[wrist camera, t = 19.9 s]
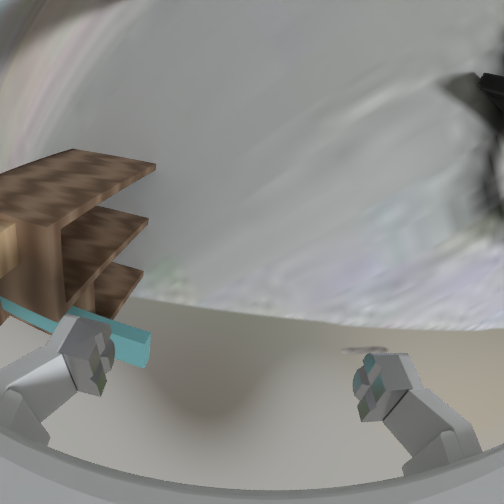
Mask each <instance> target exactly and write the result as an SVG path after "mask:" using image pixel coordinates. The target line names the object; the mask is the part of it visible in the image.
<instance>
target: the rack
mask: <svg viewBox="0 0 504 504" xmlns="http://www.w3.org/2000/svg"><path fill="white" fill-rule="evenodd" d="M155 168H156V164H154V163H149V162H144V161H139V160H134V159H128V158H123V157H118V156H112V155H106V154H100V153H95V152H89V151H82V150H76V149H70V150H67V151H63V152H60V153H57V154H54V155H51V156H48V157H45V158H42V159H39V160H36V161H33V162H30V163H27V164H25V165H22V166H19V167H17V168H14V169H11V170H9V171H6V172H4V173H1V174H0V296H1V297H3V298H5V299H7V300H9V301H11V302H13V303H15V304H17V305H19V306H21V307H23V308H26V309H28V310H30V311H32V312H34V313H36V314H38V315H41V316H43V317H45V318H47V319H50V320H52V321H54V322H57V323H58V322H59V321H60V320H61V318H62V317H63V316H64V315H65V314H66V312H67V311H68V310H69V309H70V308H71V306H75V307H77V308H80V309H83V310H85V311H88V312H91V313H94V314H96V315H99V316H102V317H105V318H108V319H111V320H113V319H114V318H115V316H116V315H117V313H118V312H119V310H120V309H121V307H122V306H123V304H124V303H125V301H126V300H127V299H128V297H129V296H130V294H131V293H132V291H133V290H134V288H135V287H136V286H137V284H138V283H139V281H140V280H141V278H142V277H143V273H144V271H141V270H138V269H134V268H131V267H127V266H124V265H120V264H117V263H114V262H112V261H113V260H114V259H115V257H116V256H117V255H118V254H119V253H120V252H121V251H122V250H123V249H124V248H125V247H126V246H127V245H128V244H129V243H130V242H131V241H132V240H133V239H134V238H135V237H136V236H137V235H138V234H139V233H140V232H141V231H142V230H143V229H144V228H145V227H146V226H147V225H148V220H149V218H145V217H141V216H137V215H133V214H129V213H124V212H120V211H116V210H112V209H108V208H104V207H100V206H96V205H98V204H99V203H101V202H103V201H104V200H106V199H107V198H109V197H111V196H112V195H114V194H115V193H117V192H119V191H120V190H122V189H124V188H125V187H127V186H129V185H130V184H132V183H134V182H135V181H137V180H139V179H141V178H142V177H144V176H146V175H148V174H149V173H151V172H153V171H155ZM10 315H11V316H13V317H14V318H17V319H18V320H20V321H23V322H25V323H27V324H28V325H30V326H33V327H35V328H37V329H39V330H41V331H43V332H45V333H47V334H50V335H52V334H53V333H50V332H48V331H46V330H44V329H42V328H40V327H37V326H35V325H33V324H31V323H29V322H27V321H25V320H23V319H21V318H19V317H17V316H15V315H13V314H11V313H9V312H7V311H5V310H4V309H3V308H2V304H1V300H0V326H1V325H2V323H3V322H4V321H5V320H6V319H7V318H8V317H9V316H10Z"/></svg>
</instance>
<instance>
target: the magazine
mask: <svg viewBox="0 0 504 504" xmlns="http://www.w3.org/2000/svg"><path fill="white" fill-rule="evenodd" d="M479 84H480V85H479V88H480V89H481V90H483V91H484V92H485V93H486V94H487V95H488V96H489V97H490V99H491V100H492V101H493V102H494V103H495V104H496V105H497V106H498V107H499V108H500V109H501V111H502V112H503V113H504V77H503V76H498V75H494V74H489V73H484V74H483V76H482V77H481V80H480V82H479Z"/></svg>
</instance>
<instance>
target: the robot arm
mask: <svg viewBox="0 0 504 504" xmlns="http://www.w3.org/2000/svg"><path fill="white" fill-rule="evenodd" d="M111 334H112V330H111V326H110V325H109V324H107V323H103V322H99V321H95V320H91V319H87V318H84V317H79V316H75V315H71V314H66V315H64V316H63V318H62V319H61V321H60V322H59V324H58V326H57V327H56V329H55V330H54V332H53V334H52V335H51V337H50V339H49V340H48V342H47V344H46V345H45V347H44V348H42V347H40V348H38V349H36V350H34V351H32V352H30V353H29V354H27V355H25V356H23V357H21V358H20V359H18V360H16V361H14V362H12V363H11V364H9V365H7V366H6V367H4V368H2V369H0V504H504V443H503V444H502V445H499V446H497V447H494V448H492V449H489V450H487V451H484V452H482V450H481V447H480V445H479V442H478V439H477V437H476V434H475V432H474V430H473V427H472V425H471V424H470V423H469V422H468V421H467V420H466V419H465V418H463V417H462V416H461V415H460V414H458V413H457V412H456V411H455V410H454V409H452V408H451V407H450V406H449V405H448V404H446V403H445V402H444V401H443V400H442V399H440V398H439V397H438V396H437V395H435V394H434V393H433V392H432V391H431V390H430V389H428V388H424V386H423V383H422V381H421V379H420V377H419V374H418V372H417V370H416V368H415V366H414V363H413V361H412V359H411V357H410V355H409V354H408V353H369V354H367V355H366V356H365V358H364V359H363V363H364V366H362V367H361V368H359V369H358V370H357V371H356V373H355V375H354V379H353V392H354V396H355V397H357V398H358V399H359V400H360V402H359V404H358V406H357V407H358V411H359V415H360V419H361V422H371V421H383V423H384V424H385V425H386V427H387V428H388V429H389V430H390V431H391V433H393V435H394V436H395V437H396V438H397V439H398V441H399V442H400V443H401V444H402V445H403V446H404V447H405V449H406V450H407V451H408V452H409V453H410V455H411V456H412V457H413V458H411V459H410V460H409V461H408V462H407V463H405V464H404V465H403V467H402V470H403V473H404V476H403V477H398V478H393V479H388V480H383V481H377V482H371V483H365V484H358V485H351V486H343V487H334V488H322V489H307V490H278V491H277V490H268V491H267V490H240V489H225V488H214V487H204V486H196V485H188V484H182V483H175V482H169V481H164V480H159V479H153V478H149V477H144V476H139V475H135V474H131V473H127V472H123V471H119V470H115V469H111V468H108V467H104V466H101V465H97V464H95V463H91V462H88V461H85V460H82V459H79V458H76V457H73V456H70V455H68V454H65V453H62V452H60V451H57V450H55V449H52V448H50V447H47V445H48V442H49V439H50V436H49V434H48V432H47V431H46V430H45V428H44V427H43V426H42V425H41V422H42V421H43V420H44V419H46V418H47V417H48V416H49V415H50V414H52V413H53V412H54V411H55V410H56V409H58V408H59V407H60V406H61V405H63V404H64V403H65V402H66V401H67V400H69V399H70V398H71V397H72V396H73V395H74V394H76V393H77V391H80V392H84V393H88V394H92V395H96V396H100V397H101V395H102V392H103V390H104V387H105V385H106V382H107V379H106V376H105V374H106V373H107V372H109V371H110V370H111V369H112V366H113V363H114V358H115V346H114V342H113V341H112V340H111V339H110V336H111Z"/></svg>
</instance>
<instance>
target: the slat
mask: <svg viewBox="0 0 504 504" xmlns="http://www.w3.org/2000/svg"><path fill="white" fill-rule="evenodd" d="M0 300H1V304H2V308H3V309H4V310H5V311H7V312H9V313H11V314H13V315H15V316H17V317H19V318H21V319H23V320H25V321H27V322H29V323H31V324H33V325H35V326H37V327H40V328H42V329H44V330H46V331H48V332H50V333H53V332H54V330H55V329H56V327H57V326H58V324H59V322H60V321H61V320H60V321H59V322H58V323H57V322H54V321H52V320H50V319H47V318H45V317H43V316H41V315H38V314H36V313H34V312H32V311H30V310H28V309H26V308H23V307H21V306H19V305H17V304H15V303H13V302H11V301H9V300H7V299H5V298H3V297H1V296H0ZM66 314H71V315H75V316H79V317H84V318H87V319H91V320H95V321H99V322H103V323H107V324H109V325H110V326H111V330H112V334H111V336H110V339H111V340H112V341H113V342H114V346H115V359H118V360H121V361H124V362H127V363H130V364H133V365H136V366H139V367H142V368H145V365H146V363H147V361H148V358H149V356H150V335H151V333H150V332H148V331H144V330H141V329H138V328H135V327H132V326H128V325H126V324H123V323H120V322H117V321H114V320H111V319H108V318H105V317H102V316H99V315H96V314H94V313H91V312H88V311H85V310H83V309H80V308H77V307H75V306H71V308H70V309H69V310H68V311H67V312H66ZM66 314H65V315H66ZM62 318H63V317H62ZM62 318H61V319H62Z"/></svg>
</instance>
